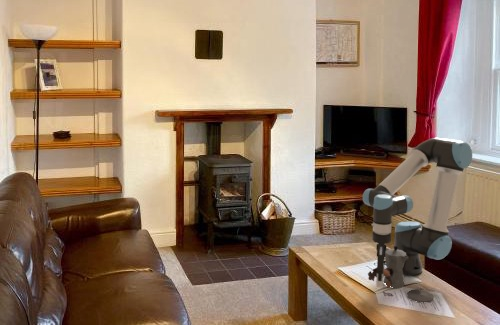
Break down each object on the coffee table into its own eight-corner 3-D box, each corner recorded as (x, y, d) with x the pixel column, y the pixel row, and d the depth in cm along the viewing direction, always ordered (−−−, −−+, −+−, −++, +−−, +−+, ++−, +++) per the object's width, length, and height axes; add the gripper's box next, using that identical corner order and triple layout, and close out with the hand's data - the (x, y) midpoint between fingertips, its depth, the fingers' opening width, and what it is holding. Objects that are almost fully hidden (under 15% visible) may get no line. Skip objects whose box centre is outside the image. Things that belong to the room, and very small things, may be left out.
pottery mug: (385, 291, 223) (375, 274, 223) (370, 293, 231) (361, 276, 231) (403, 277, 229) (393, 260, 230) (388, 279, 237) (378, 262, 238)
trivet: (406, 290, 237) (406, 288, 237) (433, 293, 234) (433, 290, 234) (406, 300, 227) (407, 298, 226) (434, 304, 224) (434, 301, 223)
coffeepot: (412, 286, 241) (415, 247, 237) (399, 292, 235) (401, 252, 232) (384, 275, 253) (386, 238, 249) (371, 280, 247) (373, 243, 243)
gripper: (374, 223, 237) (372, 271, 241) (371, 240, 216) (369, 292, 221) (391, 224, 235) (389, 273, 239) (390, 241, 214) (388, 294, 219)
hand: (380, 282), depth 230 cm, fingers closed on pottery mug, 9 cm apart
